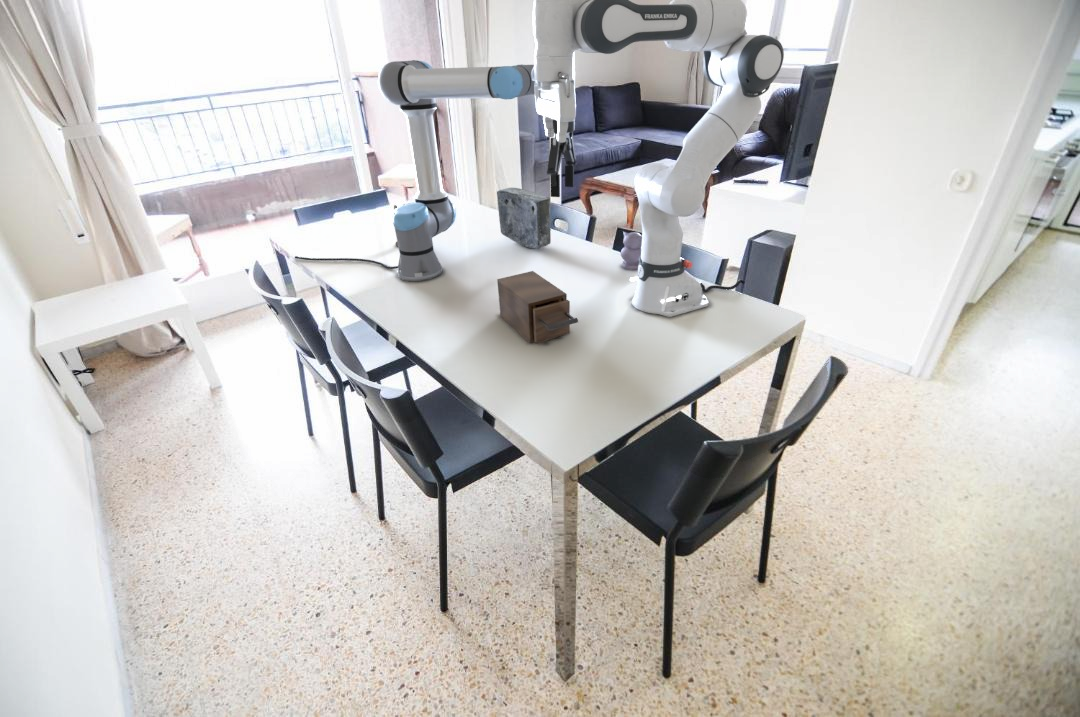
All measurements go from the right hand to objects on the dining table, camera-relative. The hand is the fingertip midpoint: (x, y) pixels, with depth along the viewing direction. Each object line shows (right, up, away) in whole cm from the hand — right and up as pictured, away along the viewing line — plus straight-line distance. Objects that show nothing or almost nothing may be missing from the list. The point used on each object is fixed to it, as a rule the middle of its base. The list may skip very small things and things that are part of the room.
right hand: (555, 139), depth 117 cm
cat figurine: (+29, -19, +58) cm, 67 cm away
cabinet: (-6, -42, +23) cm, 48 cm away
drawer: (-3, -44, +18) cm, 48 cm away
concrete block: (-9, -6, +82) cm, 82 cm away
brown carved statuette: (-58, -4, +89) cm, 106 cm away
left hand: (+3, +1, +39) cm, 39 cm away
